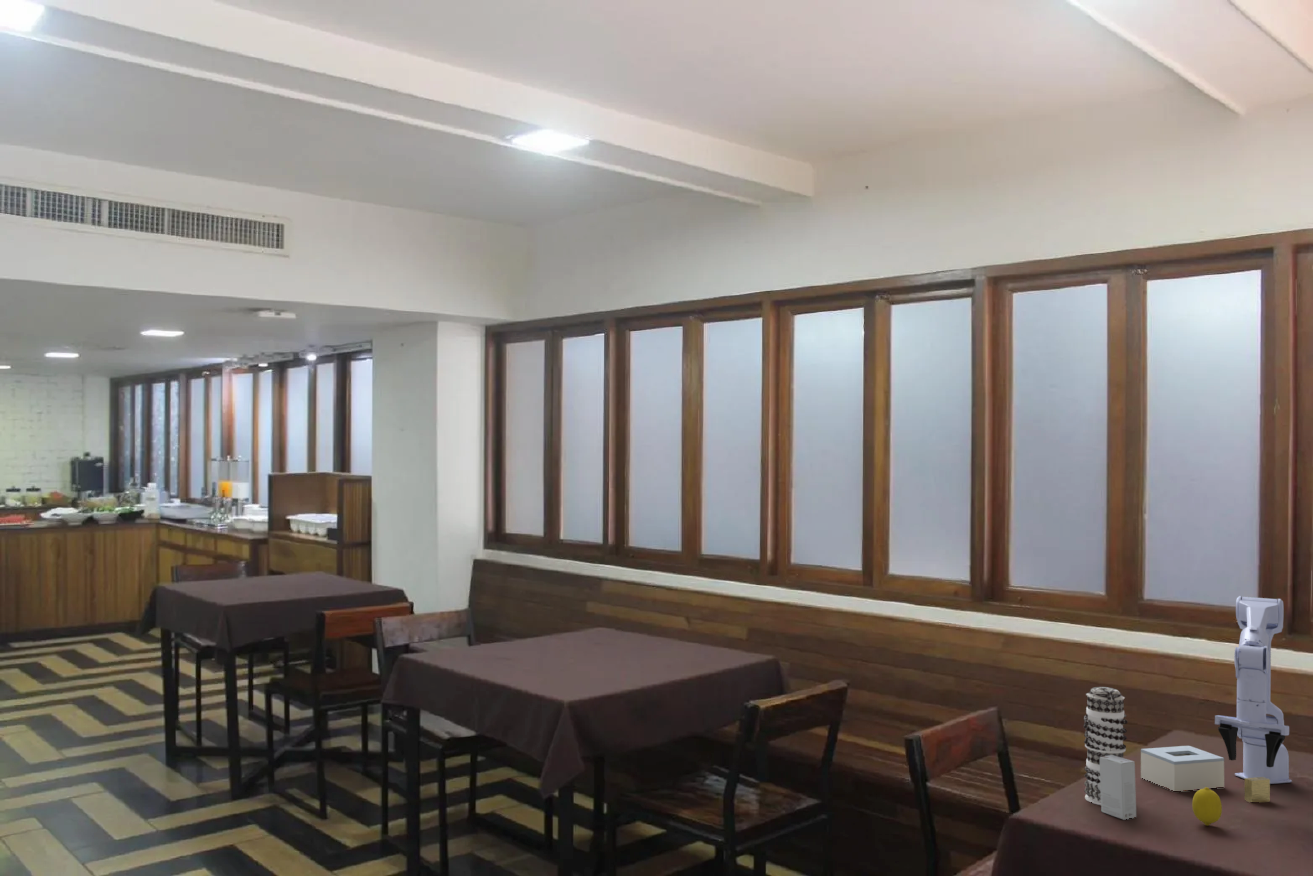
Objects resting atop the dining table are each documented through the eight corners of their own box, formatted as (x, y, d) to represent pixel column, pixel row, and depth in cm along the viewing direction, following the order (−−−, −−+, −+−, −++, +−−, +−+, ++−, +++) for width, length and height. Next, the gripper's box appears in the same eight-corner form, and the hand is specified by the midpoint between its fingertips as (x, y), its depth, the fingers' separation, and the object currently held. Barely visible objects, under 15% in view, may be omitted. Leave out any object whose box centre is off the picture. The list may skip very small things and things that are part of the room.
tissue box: (1188, 774, 255) (1188, 745, 255) (1224, 788, 244) (1224, 758, 244) (1140, 778, 251) (1140, 749, 251) (1174, 792, 241) (1174, 761, 241)
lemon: (1225, 831, 215) (1225, 792, 215) (1196, 829, 216) (1196, 790, 216) (1216, 822, 220) (1216, 784, 220) (1188, 820, 221) (1188, 782, 222)
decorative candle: (1133, 800, 234) (1133, 689, 235) (1119, 810, 227) (1119, 695, 228) (1092, 791, 240) (1092, 683, 241) (1077, 800, 234) (1077, 689, 234)
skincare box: (1137, 818, 222) (1137, 761, 223) (1122, 821, 220) (1122, 763, 221) (1113, 809, 228) (1113, 753, 228) (1098, 812, 226) (1098, 756, 226)
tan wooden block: (1262, 799, 237) (1262, 776, 237) (1269, 801, 235) (1269, 779, 235) (1244, 800, 235) (1244, 778, 235) (1251, 803, 233) (1251, 781, 233)
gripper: (1209, 696, 233) (1208, 758, 232) (1280, 706, 222) (1280, 771, 221) (1222, 695, 238) (1221, 755, 236) (1292, 705, 227) (1292, 768, 225)
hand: (1251, 763), depth 229 cm, fingers open, 7 cm apart
